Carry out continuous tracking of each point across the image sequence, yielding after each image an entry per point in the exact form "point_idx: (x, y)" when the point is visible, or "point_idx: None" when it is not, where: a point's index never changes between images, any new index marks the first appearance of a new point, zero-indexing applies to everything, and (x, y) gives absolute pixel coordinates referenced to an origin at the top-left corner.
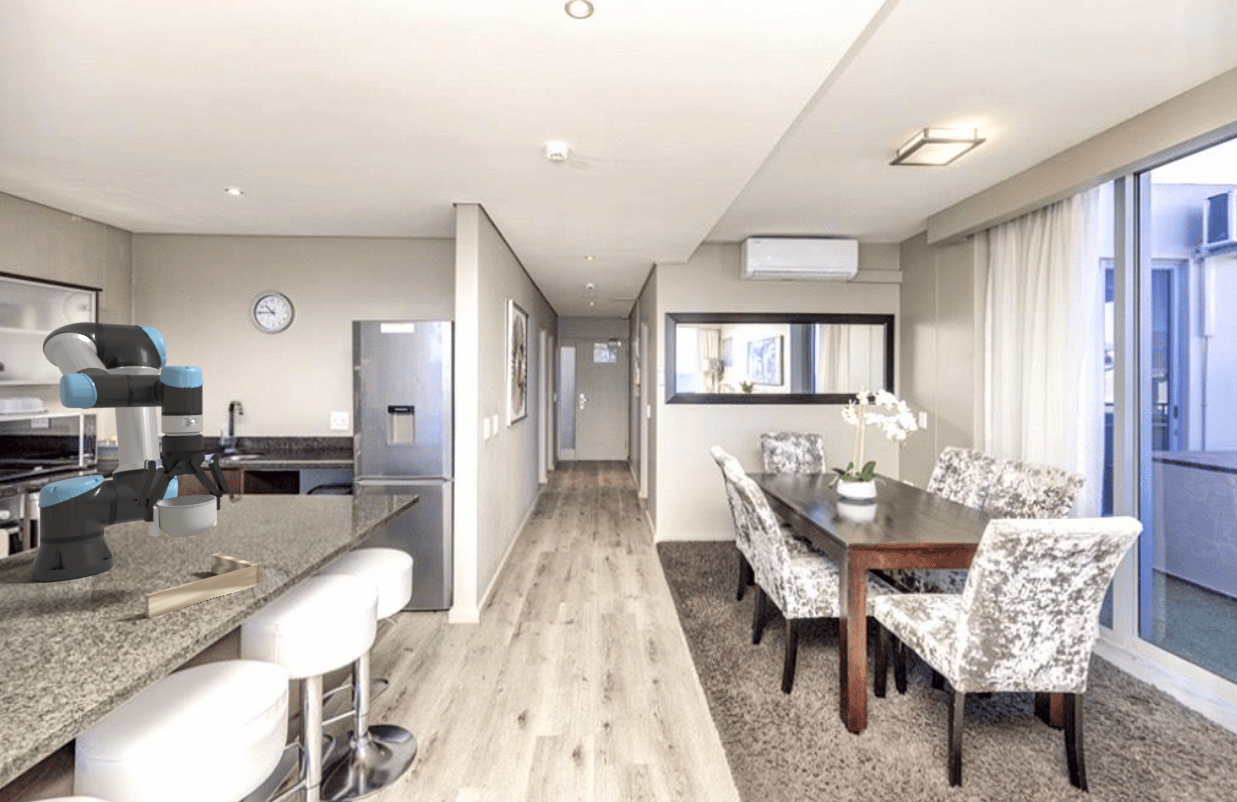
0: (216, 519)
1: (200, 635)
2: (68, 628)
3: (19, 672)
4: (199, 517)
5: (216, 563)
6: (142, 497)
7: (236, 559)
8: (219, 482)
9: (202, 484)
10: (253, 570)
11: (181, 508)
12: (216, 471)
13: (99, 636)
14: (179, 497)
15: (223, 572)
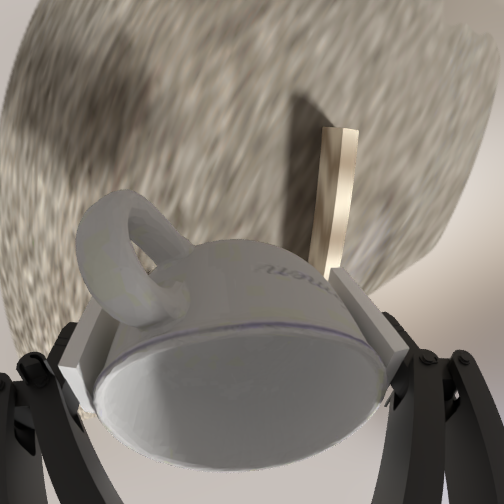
0: None
1: None
2: (37, 245)
3: (16, 338)
4: (234, 424)
5: (331, 155)
6: (26, 449)
7: (339, 236)
8: (445, 436)
9: (410, 434)
10: None
11: (177, 457)
12: (452, 501)
13: (65, 315)
14: (278, 333)
15: (320, 184)
